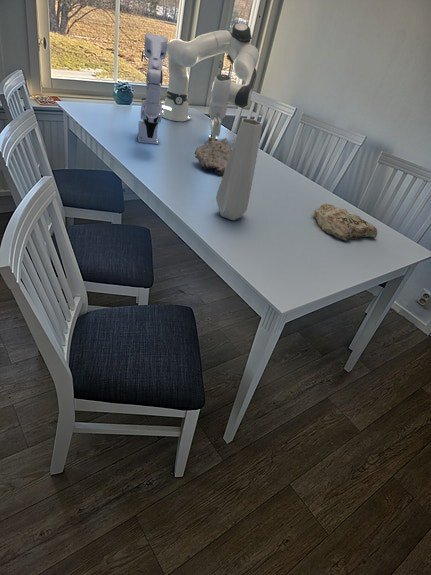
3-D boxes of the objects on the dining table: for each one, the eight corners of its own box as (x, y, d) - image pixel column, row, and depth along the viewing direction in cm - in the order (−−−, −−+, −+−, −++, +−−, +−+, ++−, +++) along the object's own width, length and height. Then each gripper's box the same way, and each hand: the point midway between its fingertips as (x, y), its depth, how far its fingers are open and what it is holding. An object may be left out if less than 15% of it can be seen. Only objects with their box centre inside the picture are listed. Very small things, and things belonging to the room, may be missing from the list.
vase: (253, 221, 137) (278, 128, 117) (226, 224, 131) (248, 127, 111) (236, 206, 144) (257, 116, 124) (210, 208, 139) (227, 114, 119)
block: (216, 146, 197) (217, 138, 194) (208, 145, 196) (209, 137, 194) (215, 143, 200) (216, 136, 198) (207, 142, 199) (208, 134, 197)
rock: (234, 142, 173) (214, 126, 161) (245, 170, 166) (225, 155, 155) (210, 161, 180) (189, 148, 168) (219, 189, 174) (199, 176, 162)
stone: (347, 232, 131) (303, 198, 147) (341, 246, 135) (298, 211, 150) (382, 227, 141) (337, 195, 156) (375, 240, 144) (331, 207, 160)
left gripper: (161, 107, 152) (159, 141, 160) (163, 99, 163) (160, 131, 171) (144, 104, 150) (142, 139, 159) (146, 96, 162) (144, 128, 170)
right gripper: (225, 118, 180) (220, 147, 189) (221, 107, 196) (217, 134, 205) (212, 116, 179) (207, 145, 188) (209, 105, 195) (205, 132, 204)
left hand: (150, 134), depth 165 cm, fingers open, 7 cm apart
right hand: (212, 139), depth 196 cm, fingers open, 5 cm apart
